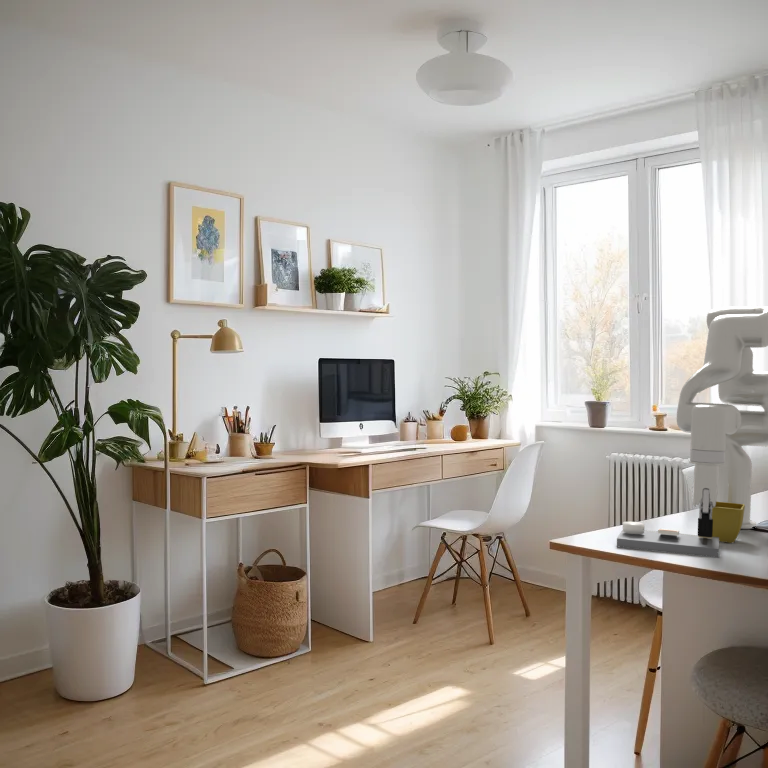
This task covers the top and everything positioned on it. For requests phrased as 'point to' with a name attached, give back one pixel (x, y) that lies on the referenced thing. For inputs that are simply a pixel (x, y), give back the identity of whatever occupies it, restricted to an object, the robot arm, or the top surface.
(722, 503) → the flower pot
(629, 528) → the push button
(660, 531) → the rocker
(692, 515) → the top surface
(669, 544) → the switch panel
